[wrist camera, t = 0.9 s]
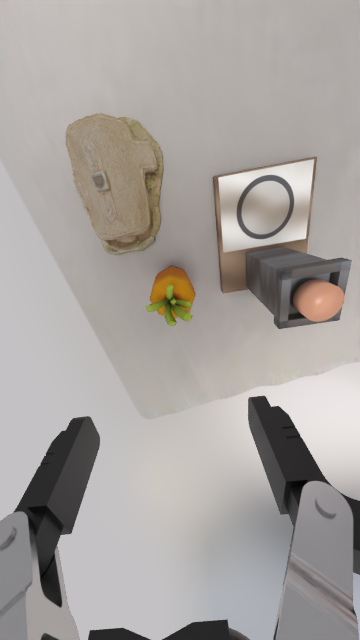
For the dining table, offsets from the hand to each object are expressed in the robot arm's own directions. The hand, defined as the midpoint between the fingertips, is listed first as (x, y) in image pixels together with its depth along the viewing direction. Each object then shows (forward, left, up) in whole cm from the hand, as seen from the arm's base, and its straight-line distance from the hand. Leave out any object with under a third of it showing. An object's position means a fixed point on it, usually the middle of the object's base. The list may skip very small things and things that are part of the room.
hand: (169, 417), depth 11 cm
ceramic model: (-12, -4, -25) cm, 28 cm away
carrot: (-1, 0, -24) cm, 24 cm away
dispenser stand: (-5, +13, -24) cm, 28 cm away
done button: (0, +13, -11) cm, 17 cm away
